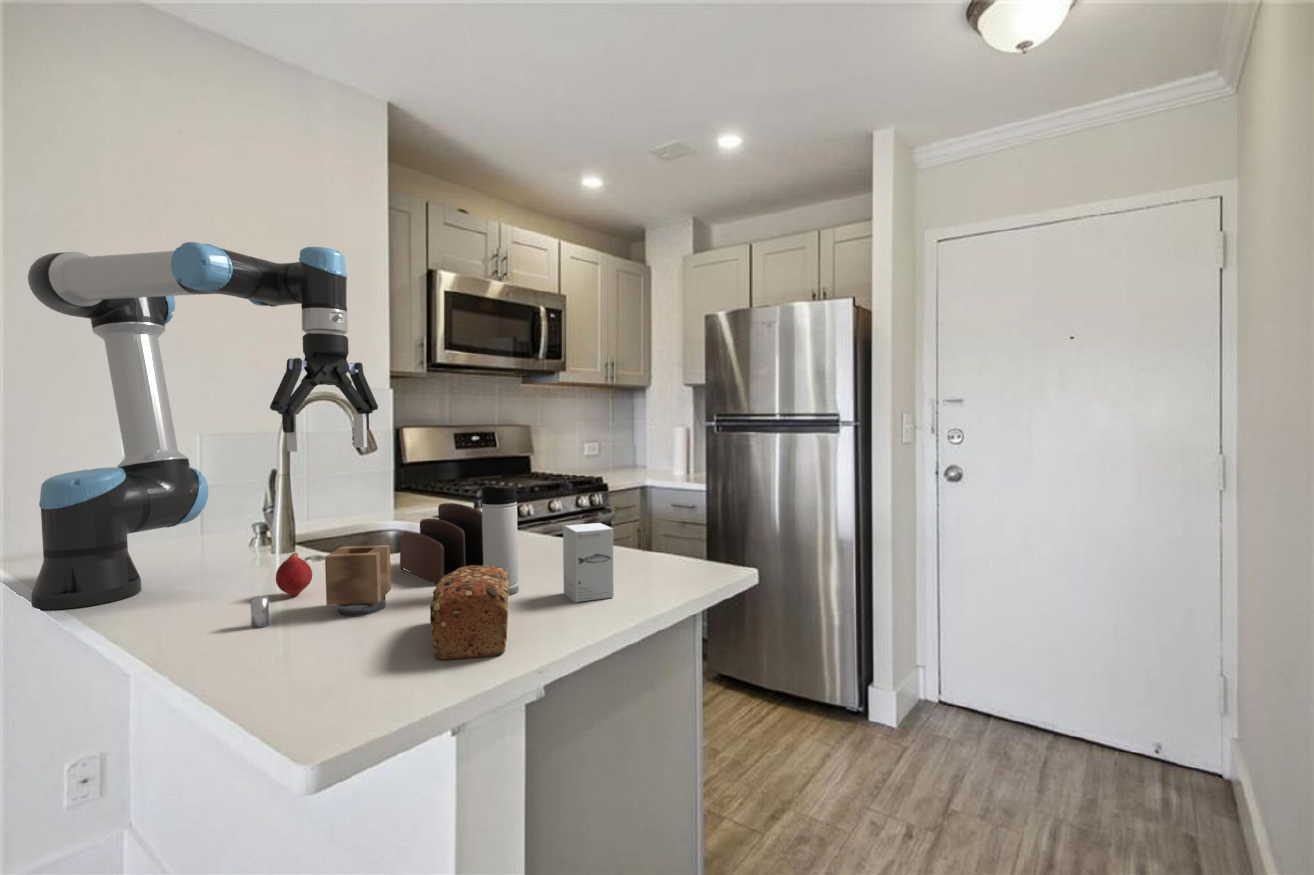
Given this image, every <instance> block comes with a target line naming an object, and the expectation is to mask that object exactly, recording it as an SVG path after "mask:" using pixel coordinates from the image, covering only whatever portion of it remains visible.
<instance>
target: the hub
mask: <svg viewBox="0 0 1314 875" xmlns="http://www.w3.org/2000/svg"><path fill="white" fill-rule="evenodd" d="M386 598H387V597H386V595H385V596H384V597H383V598H382V599H381V600H380V601H379V602H378V603H362V604H341V605H336V613H337V614H338V615H340V616H346V617H347V616H349V617H352V616H363V615H369V614H373V613H376V612H380V611H383V610H384V609H385V608H386V606H387V602H386Z"/></svg>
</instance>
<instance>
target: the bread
mask: <svg viewBox="0 0 1314 875" xmlns="http://www.w3.org/2000/svg"><path fill="white" fill-rule="evenodd" d="M508 592H509V578H508V572H507V570H506V569H504V568H502V567H500V566H488V565H482V566H479V565H471V566H465V567H459V568H457V569H456V570H455V571H453V572H452V573H450V574H448V575H446V576H444V577H443V578H441V579H440V580H439V582H438V584H437V583H436V586H435V589H433V591H432V594H433V595H432V600H431V603H430V606H429V608H430V609H429V610H430V616H429V617H430V618H429V621H430V637H431V640H432V647H433V652H434V658H435V659H443V660H448V661H449V660H461V659H469V658H470V659H471V658H484V657H496V656H499V655H501V654H502V653H504V652H505V651H506V645H507V640H508V625H509V624H508V617H509V611H508V610H509V609H508V608H509V607H508V605H509V603H508V601H509V596H510V595H509V594H508Z"/></svg>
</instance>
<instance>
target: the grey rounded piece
mask: <svg viewBox="0 0 1314 875" xmlns="http://www.w3.org/2000/svg"><path fill="white" fill-rule="evenodd" d="M269 603H270V602H269V596H267V595H260V596H259V595H258V596H254V597H251V598H250V621H251V622H250V624H251V629H262V628H266V627H268V626H269V625H270V613H269V612H270V610H269V609H270V608H269V606H270V605H269ZM261 627H262V628H261Z"/></svg>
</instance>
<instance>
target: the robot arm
mask: <svg viewBox="0 0 1314 875" xmlns="http://www.w3.org/2000/svg"><path fill="white" fill-rule="evenodd" d="M347 280H348V274H347V268H346V258H345V256H344V254H343V253H342V252H341V251H339V250H337V249H335V248H329V247H324V246H306V247H304V248H301V249H300V252H299V258H298V261H295V262H288V263H287V262H284V263H283V262H282V263H281V262H279V263H277V262H273V261H269V260H265V259H262V258H258V257H254V256H250V255H246V254H244V253H243V254H242V253H240V252H235V251H232V250H228V249H225V248H221V247H218V246H215V245H214V244H210V243H199V242H197V241H196V242H195V241H187V242H183V243H181V245H180V246H179V247H176V248H175V249H174V250H168V251H153V252H138V253H137V252H136V253H124V254H122V253H121V254H110V255H109V254H108V255H107V254H105V255H94V256H91V255H89V254H85V253H82V252H77V251H67V252H54V253H49V254H45V255H43V256H41V257H39V258H37V259H36V260H35V261H34V262H33V263H32V264H31V265H30V268H29V269H28V274H27V282H28V286H29V290H30V291H31V292H32V294H33V295H34V296H35V297H36V298H35V299H37V300H38V301H39V302H40V303H42V304H43V305H44V306H46V307H47V308H49V309H50V310H53V311H55V312H56V313H60V314H62V315H67V316H70V317H78V318H84V319H90V324H91V329H92V333H93V334H95V335H96V336H97V337H99V338H100V339H102V340H103V341H104V346H105V347H104V348H105V351H106V357H107V358H106V359H107V363H108V368H109V373H110V374H109V375H110V381H111V385H112V386H111V387H112V390H113V391H112V392H113V397H114V402H115V403H114V404H115V408H116V414H117V420H118V424H119V425H118V426H119V430H120V435H121V436H120V437H121V441H122V442H121V443H122V448H123V452H124V453H123V454H124V458H123V459H122V461H121V462H120V463H119V464H118V465H117V466H116V467H111V466H110V467H98V468H97V467H96V468H92V469H91V468H90V469H82V470H76V471H70V472H65V473H60V474H57V475H56V474H55V475H54V476H53V475H52V476H50V477H49V478H47V479H45V480H44V481H43V482H42V483H41V486H40V493H39V495H40V496H39V503H38V506H39V508H40V517H41V519H40V520H41V533H42V534H41V536H42V538H41V539H42V552H43V553H42V556H43V557H42V558H43V561H42V562H43V563H42V565H41V568H40V570H39V573H38V576H37V578H36V581H35V583H34V586H33V588H32V592H31V607H32V608H34V609H38V610H62V609H63V610H64V609H65V610H66V609H75V608H83V607H89V606H90V607H91V606H96V605H101V604H106V603H107V604H108V603H111V602H115V601H120V600H123V599H126V598H130V597H132V596H135V595H137V594H138V593H140V592H141V591H142V578H141V576H140V573H139V572H138V569H137V567H136V565H135V564H134V562H133V560H132V556H131V555H130V553H129V548H128V547H129V546H128V535H129V534H135V533H140V532H144V531H145V532H146V531H152V530H156V529H157V530H159V529H164V528H171V527H176V526H178V525H181V524H183V525H184V524H187V523H189V522H192V521H193V520H195V519H196V518H198V516H200V514H201V513H202V510H203V509H205V507H206V504H207V502H208V497H209V485H208V482H207V479H206V477H205V475H203V474H202V472H201V471H200V470H199V469H197V468H194V467H191V466H190V460H189V457H188V456H186V455H185V454H183V453H181V452H180V451H179V450H178V445H177V444H178V443H177V440H176V438H177V437H176V432H175V427H174V422H173V417H172V410H171V404H170V400H169V393H168V387H167V381H166V377H165V371H164V365H163V360H162V355H161V349H160V343H159V337H160V336H161V335H162V334H163V333H165V332H166V326H165V325H167V324H168V323H169V322H170V321H171V320H172V318H173V317H174V314H173V313H172V312H175V310H176V300H175V297H176V296H193V295H224V296H230V297H236V298H238V299H239V298H241V299H245V300H248V301H250V302H251V303H252V305H253V304H254V305H256V306H260V307H264V306H266V307H267V306H268V307H272V308H275V307H278V306H288V305H289V306H290V305H301V331H302V332H303V333H305V334H303V336H302V338H301V339H302V353H303V355H304V360H303V359H302V358H300V357H295V358H291V357H290V358H287V359H286V366H285V367H286V368H285V369H286V371H285V373H284V375H283V377H282V379H281V381H280V384H279V386H278V388H277V390H276V392H275V394H274V396H273V399H272V401H271V403H270V405H269V409H270V410H271V411H275V412H277V414H279V415H281V420H282V421H281V422H282V432H283V433H284V434H285V433H286V446H287V447H286V448H287V449H286V450H287V452H292V453H294V452H295V453H298V452H299V453H301V452H302V439H301V434H302V432H301V415H300V414H295V413H296V412H297V411H298V409H299V408H300V407H301V406H302V405H303V403H304V401H305V400H306V399H307V398H308V396H309V395H310V394H311V392H312V391H313V390H314V389H315V387H317V386H322V385H326V386H335V387H336V388H338V390H340V392H342V394H343V395H344V397H345V398H346V400H348V402H349V403H350V405H351V406H352V408H353V409H354V410H355V411H356V412H357V413H353V414H352V417H353V442H354V444H353V446H354V448H368V435H367V434H368V432H367V431H368V430H369V428H370V414H373V412H374V411H377V410H378V409H379V405H378V404H377V401H376V398H375V397H374V394H373V392H372V390H371V387H370V385H369V383H368V381H367V379H366V376H365V374H364V373H365V372H364V366H363V363H362V362H351V363H349V361H348V360H347V358H348V356H349V352H350V351H349V338H348V336H346V334H348V332H349V330H348V327H349V326H348V307H347V294H348V293H347V287H348V286H347V284H348V283H347ZM303 370H304V371H305V372H306V374H305V375H304V376H303V378H302V379H301V380H300V383H299V385H298V387H296V385H297V383H298V381H299V379H300V376H301V374H302V371H303ZM348 374H349V376H350V377H349V376H348ZM295 387H296V389H295Z"/></svg>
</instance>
